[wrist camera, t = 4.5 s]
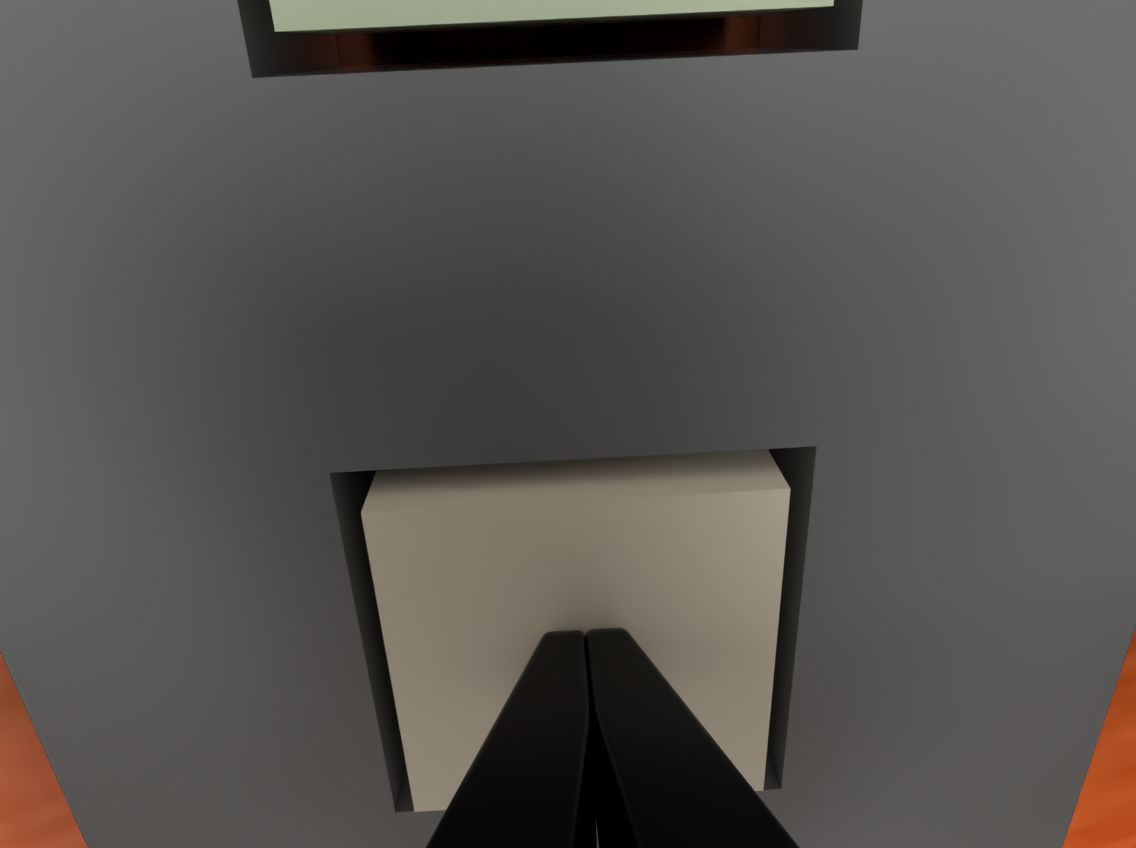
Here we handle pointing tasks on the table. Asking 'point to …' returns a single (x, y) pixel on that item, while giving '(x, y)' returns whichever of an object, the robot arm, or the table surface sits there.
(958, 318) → the console
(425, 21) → the sage button
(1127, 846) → the table surface
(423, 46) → the table surface
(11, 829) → the table surface
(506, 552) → the cream button
